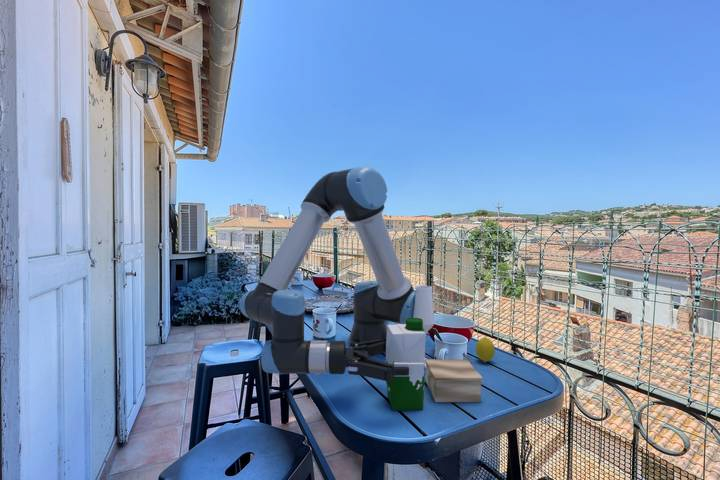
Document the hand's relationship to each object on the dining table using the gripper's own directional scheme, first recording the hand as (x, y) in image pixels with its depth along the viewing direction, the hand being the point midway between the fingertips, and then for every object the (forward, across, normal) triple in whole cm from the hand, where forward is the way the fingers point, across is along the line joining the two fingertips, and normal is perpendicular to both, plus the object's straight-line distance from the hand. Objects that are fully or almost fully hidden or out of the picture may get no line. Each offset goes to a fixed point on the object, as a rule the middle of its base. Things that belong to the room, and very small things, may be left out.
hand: (418, 357), depth 78 cm
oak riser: (+10, -6, -11) cm, 16 cm away
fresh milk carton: (-3, 0, -11) cm, 12 cm away
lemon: (+26, -25, -11) cm, 38 cm away
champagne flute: (+6, -24, -11) cm, 27 cm away
